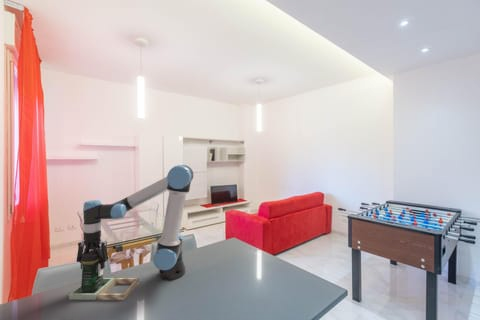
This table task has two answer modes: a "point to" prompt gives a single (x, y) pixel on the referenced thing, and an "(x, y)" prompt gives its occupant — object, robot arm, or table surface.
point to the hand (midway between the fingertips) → (92, 274)
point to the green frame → (88, 296)
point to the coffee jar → (90, 272)
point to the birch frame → (104, 296)
